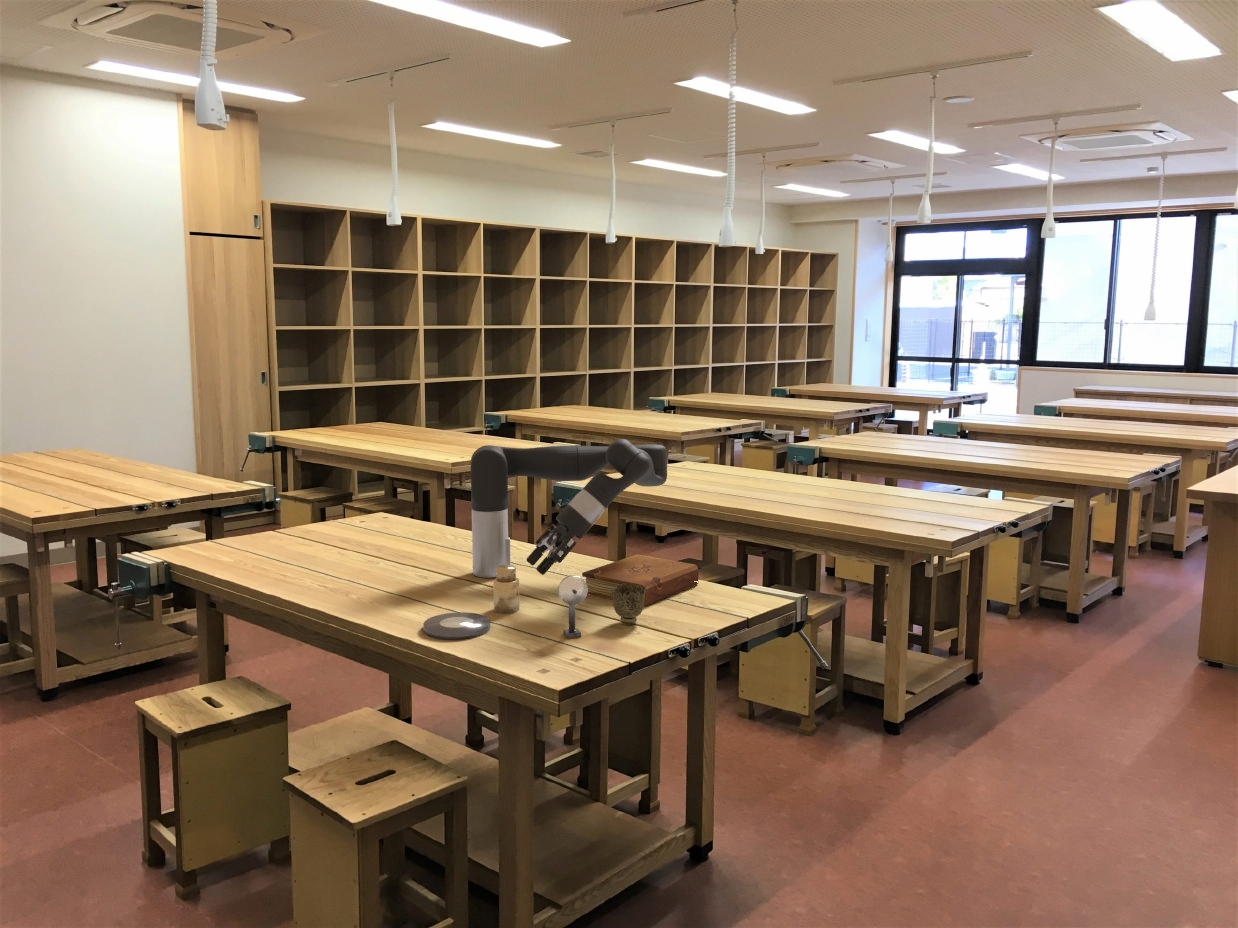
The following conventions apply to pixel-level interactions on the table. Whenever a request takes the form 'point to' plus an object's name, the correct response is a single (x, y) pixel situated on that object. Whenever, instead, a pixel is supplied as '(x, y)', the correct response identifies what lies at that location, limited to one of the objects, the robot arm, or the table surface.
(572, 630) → the dial gauge
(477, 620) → the turntable
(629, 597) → the cup
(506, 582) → the weight
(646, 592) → the diary
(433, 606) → the table surface
